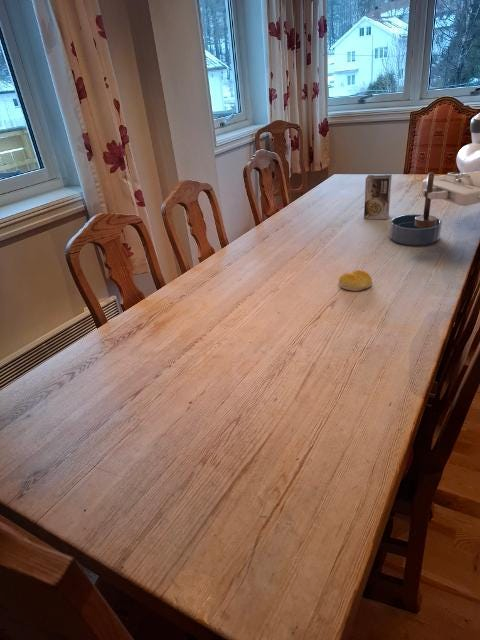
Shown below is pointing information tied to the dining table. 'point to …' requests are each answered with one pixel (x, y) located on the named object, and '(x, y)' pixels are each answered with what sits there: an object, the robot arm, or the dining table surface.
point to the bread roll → (355, 280)
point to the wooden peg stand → (427, 207)
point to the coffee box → (377, 196)
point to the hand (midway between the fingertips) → (426, 194)
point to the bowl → (413, 231)
